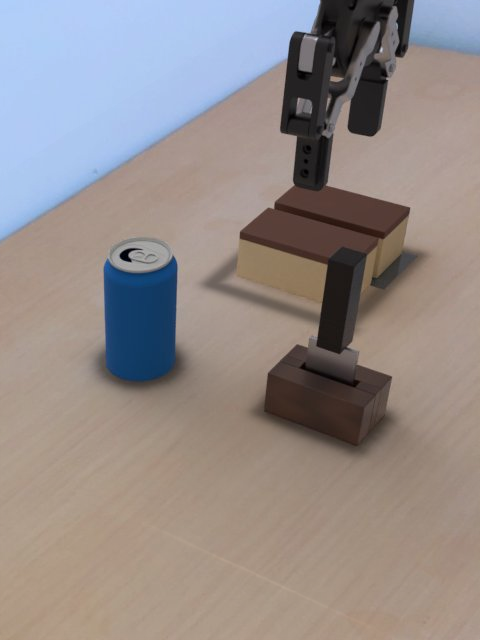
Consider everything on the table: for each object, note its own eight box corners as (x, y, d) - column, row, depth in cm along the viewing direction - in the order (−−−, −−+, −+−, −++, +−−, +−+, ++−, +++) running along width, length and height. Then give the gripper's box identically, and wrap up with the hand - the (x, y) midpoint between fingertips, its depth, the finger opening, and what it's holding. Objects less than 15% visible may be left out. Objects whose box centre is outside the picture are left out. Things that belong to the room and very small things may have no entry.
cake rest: (401, 253, 112) (411, 207, 108) (376, 278, 109) (385, 232, 105) (296, 223, 117) (301, 178, 113) (269, 247, 115) (274, 201, 111)
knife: (352, 414, 96) (381, 257, 84) (340, 427, 95) (367, 270, 83) (307, 397, 98) (329, 241, 86) (294, 410, 97) (315, 254, 85)
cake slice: (370, 284, 108) (379, 237, 105) (344, 311, 106) (351, 264, 102) (263, 252, 114) (268, 206, 110) (236, 276, 112) (239, 231, 108)
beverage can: (125, 342, 107) (123, 228, 98) (185, 358, 105) (190, 242, 96) (94, 379, 104) (90, 264, 95) (156, 396, 102) (158, 279, 92)
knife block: (383, 423, 96) (393, 376, 92) (355, 455, 94) (364, 407, 90) (291, 390, 100) (296, 343, 96) (262, 419, 98) (267, 372, 94)
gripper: (382, -64, 59) (343, 219, 71) (481, -147, 66) (430, 125, 78) (255, -78, 62) (239, 195, 75) (362, -155, 69) (331, 107, 81)
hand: (337, 159), depth 76 cm, fingers open, 8 cm apart
